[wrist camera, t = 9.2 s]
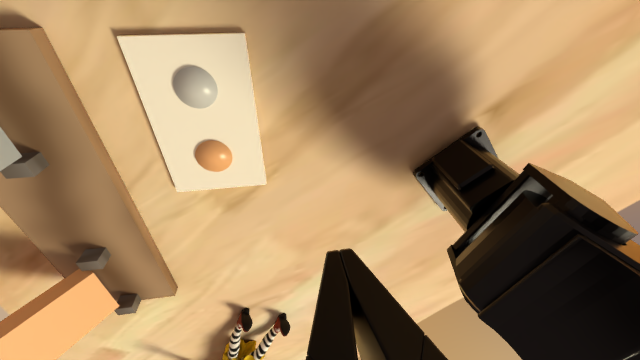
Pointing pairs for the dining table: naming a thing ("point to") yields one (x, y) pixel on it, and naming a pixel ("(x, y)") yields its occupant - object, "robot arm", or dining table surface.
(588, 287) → the robot arm
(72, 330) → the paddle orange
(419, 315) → the dining table surface
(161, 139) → the card
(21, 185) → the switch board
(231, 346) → the figurine
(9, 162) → the grey tall block
